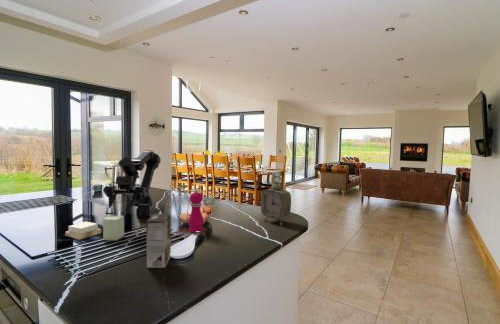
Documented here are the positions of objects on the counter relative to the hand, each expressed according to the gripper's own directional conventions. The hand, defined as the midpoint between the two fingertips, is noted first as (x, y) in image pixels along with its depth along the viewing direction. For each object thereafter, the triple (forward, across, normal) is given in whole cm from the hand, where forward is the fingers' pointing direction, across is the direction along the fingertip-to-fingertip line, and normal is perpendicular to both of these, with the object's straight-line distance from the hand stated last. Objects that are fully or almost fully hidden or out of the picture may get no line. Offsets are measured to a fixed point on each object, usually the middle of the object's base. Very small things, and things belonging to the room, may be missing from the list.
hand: (119, 207), depth 125 cm
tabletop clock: (-7, +73, +24) cm, 78 cm away
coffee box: (+29, +27, -12) cm, 42 cm away
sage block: (+12, 0, +4) cm, 13 cm away
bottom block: (+10, -15, +8) cm, 20 cm away
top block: (+9, -15, +6) cm, 19 cm away
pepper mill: (+5, +34, +12) cm, 36 cm away
